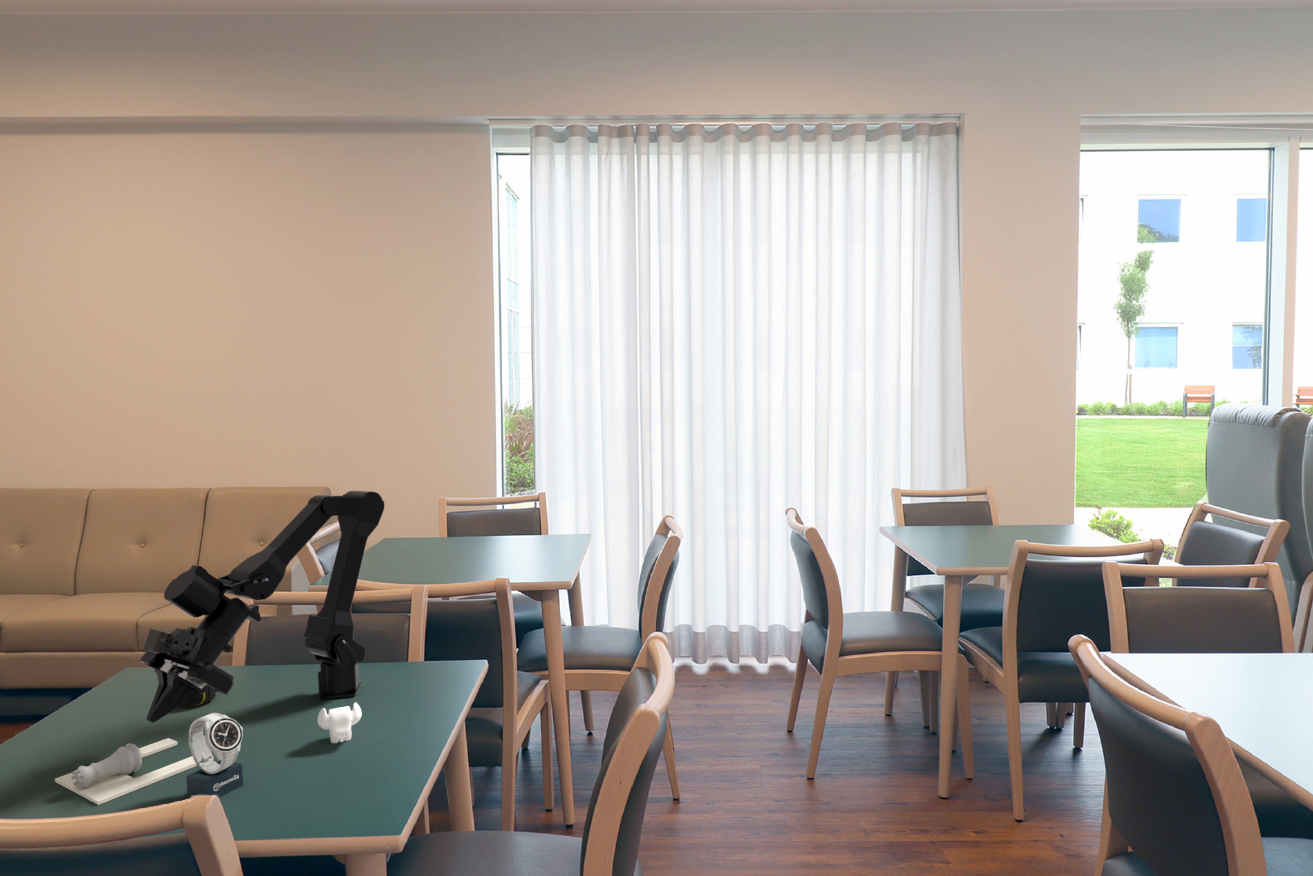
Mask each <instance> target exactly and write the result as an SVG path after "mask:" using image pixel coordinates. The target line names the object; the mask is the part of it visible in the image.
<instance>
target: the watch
mask: <svg viewBox="0 0 1313 876" xmlns="http://www.w3.org/2000/svg"><path fill="white" fill-rule="evenodd" d="M243 732H244V728H243V726H241V725H240V723H239V722H238V721H237V720H235V719H234V718H231V717H229V716H227V714H222V713H220V712H219V713H218V712H211V713H209V714H207V715H204V716H201V717H199V718H196V719H195V720H193V722H192V723H191V724H190V726H189V730H188V741H187V742H188V747H189V751H190V753H191V756H193V760H194V761H195V763H196V765H197V766H196V767H199V769H198V770H196V771H194V772H192V773H189V774H187V775H186V776H185V777H186V792H187V793H186V794H187V798H188V797H191V795H197V794H207V795H212V794H217V795H219V798H220V797H222V796H224V795H226V794H228V793H230V792H232V791H234V790H237V789H238V788H240V787H242V786H244V773H243V764H242V763H239V762H236V761H237V757H238V755H239V752H240V751H241V745H242V744H241V743H242V741H243V738H244V737H243ZM213 754H214V755H213ZM213 756H214V757H216V759H217V760H218V761H215V760H214V759H212V757H213Z"/></svg>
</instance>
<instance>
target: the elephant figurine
mask: <svg viewBox="0 0 1313 876" xmlns="http://www.w3.org/2000/svg"><path fill="white" fill-rule="evenodd" d="M352 704H353V705H352V709H351V707H350V706H349V705H346V706H342V707H334V708H330V709H329V710H328V713H327V710H326V708H325V707H322V708H321V709H320V711H319V713H318V714H317V725H318V726H319V727H320V728H321V729H322V730H325V731H326V730H329V739H330V742H331V744H337V743H339V742H340V743H343V742H348V741H350V740H352V733H353V732H352V726H354V725H356V724H357V723H359V721H360V720H361V718H362V716H363V715H362V714H363V713H362V709H361V706H360V705H359V703H358V702H354V703H352Z"/></svg>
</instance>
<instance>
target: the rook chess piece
mask: <svg viewBox="0 0 1313 876" xmlns="http://www.w3.org/2000/svg"><path fill="white" fill-rule="evenodd" d="M139 748H140V747H138V746H137V745H136V744H135V743H130V742H129V743H127V744H126V745H125V746H124V745H123V746H120V747H118V748H117V749H116V751H114V752H113V753H112V754H111V755H110V756H108V757H107V758H103V760H100V761H97V762H92V763H90V765H88V766H85V765H80V766H78V767H77V769H76V770H74V771H72V772H71V773H72V775H74V774H75V775H74V776H71V777H72V780H73V779H76V781H75V782H73V785H74V786H75V785H77V784H78V785H77V786H76V788H80V787H83V788H87V787H88V786H89V785H90V783H91V782H93V781H95V782H97V781H99V780H100V779H101V778H104V777H107V776H111V775H115V774H119V775H120V774H126V775H130V774H132V772H133V773H136V772H138V771H139V769H140V768H141V767H142V763H143V758H142V756H141V753H140V750H139Z"/></svg>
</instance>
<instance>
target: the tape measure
mask: <svg viewBox="0 0 1313 876" xmlns="http://www.w3.org/2000/svg"><path fill="white" fill-rule="evenodd" d="M202 689H203V690H204V691H205V692H204V693H203V694H199V695H197V696H196V697H194V698H192V699H191V700H189V701H187V702H186V703H184V704H182V705H181V706H180V707H196V706H202V705H204V704H206V703H208V702H210V701H212V700H214V699H215V697H216V696H217V692H216V691H215V689H214V688H213V687H211V686H209V685H207V684H205V685H204V687H203V688H202Z"/></svg>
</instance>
